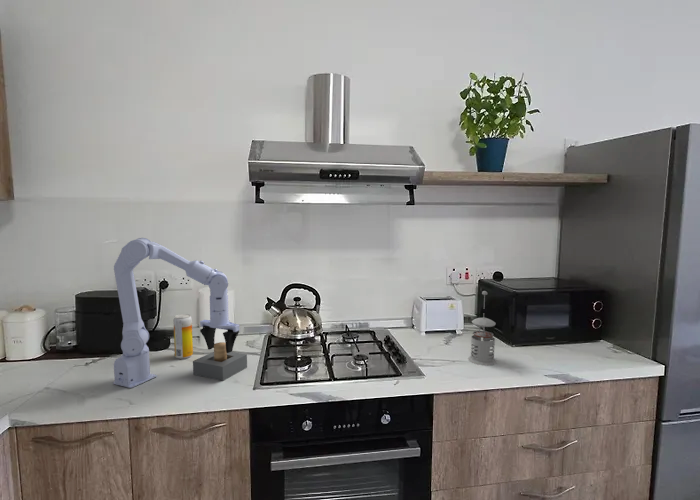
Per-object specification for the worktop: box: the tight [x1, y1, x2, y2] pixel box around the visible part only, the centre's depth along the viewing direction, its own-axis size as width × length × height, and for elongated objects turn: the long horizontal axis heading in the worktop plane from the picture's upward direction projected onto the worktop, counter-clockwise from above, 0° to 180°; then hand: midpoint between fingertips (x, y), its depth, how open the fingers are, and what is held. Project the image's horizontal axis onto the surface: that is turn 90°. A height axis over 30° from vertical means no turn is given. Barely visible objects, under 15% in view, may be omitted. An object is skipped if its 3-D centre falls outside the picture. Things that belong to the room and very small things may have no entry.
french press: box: [467, 290, 497, 366], centre depth 145 cm, size 10×12×25 cm
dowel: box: [213, 342, 227, 362], centre depth 134 cm, size 4×4×8 cm
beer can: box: [172, 313, 194, 360], centre depth 147 cm, size 6×6×15 cm
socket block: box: [192, 351, 248, 382], centre depth 135 cm, size 12×12×4 cm
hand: (220, 350), depth 134 cm, fingers open, 7 cm apart
